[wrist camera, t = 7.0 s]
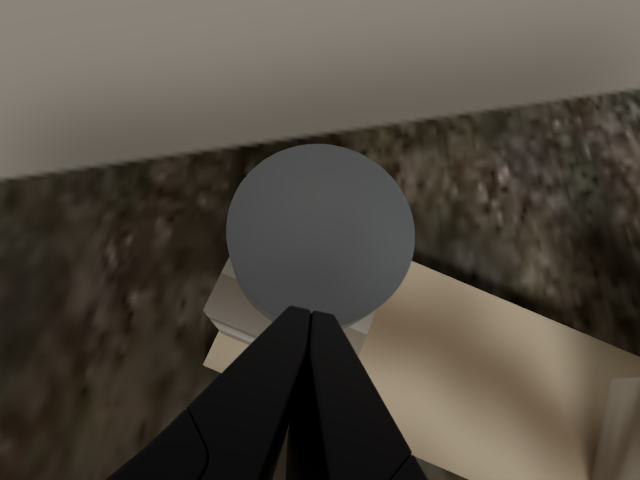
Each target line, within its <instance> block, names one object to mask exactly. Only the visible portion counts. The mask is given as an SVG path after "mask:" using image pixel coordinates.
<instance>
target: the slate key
mask: <svg viewBox="0 0 640 480" xmlns="http://www.w3.org/2000/svg"><path fill="white" fill-rule="evenodd" d="M226 240H227V246H228V252H229V255H230V259H231V262H232V266H233V270H234V273H235V276H236V279H237V282H238V284H239V286H240V288H241V290H242V292H243V293H244V295H245V296H246V298H247V299H248V300H249V302H250V303H251V304H252V305H253V306H254V307H255V308H256V309H257V310H258V311H259V312H260V313H261V314H262V315H264V316H265V317H267V318H268V319H269V320H271V321H274V320H275V319H276V318H277V317H278V316H279V315H280V314H281V313H282V312H283V311H284V310H285V309H286V308H287V307H288V306H297V307H301V308H306V309H309V310H310V311H311V313H312V312H313V311H321V312H325V313H330V314H333V315H334V316H335V317H336V319H337V320H338V322H339V324H340V326H341V327H342V329H344V328H347V327H349V326H351V325H353V324H355V323H357V322H359V321H361V320H362V319H363V318H365V317H366V316H368V315H369V314H370V313H372V312H373V311H374V310H376V309H377V308H378V307H380V306H381V305H382V304H384V303H385V302H386V301H387V300H388V299H389V298H390V297H391V296H392V295H393V294H394V293H395V291H396V290H397V289H398V288H399V286H400V285H401V283H402V281H403V280H404V278H405V276H406V274H407V272H408V270H409V267H410V264H411V261H412V257H413V253H414V246H415V229H414V221H413V217H412V213H411V210H410V207H409V204H408V202H407V200H406V197H405V196H404V194H403V192H402V190H401V189H400V187H399V186H398V185H397V183H396V182H395V180H394V179H393V178H392V177H391V176H390V175H389V174H388V173H387V172H386V171H385V170H384V169H383V168H382V167H381V166H379V165H378V164H377V163H376V162H374V161H372V160H371V159H369V158H368V157H366V156H364V155H362V154H360V153H358V152H356V151H353V150H350V149H347V148H344V147H340V146H335V145H328V144H306V145H299V146H295V147H291V148H287V149H285V150H282V151H280V152H277V153H275V154H273V155H272V156H270V157H268V158H266V159H265V160H263V161H262V162H261V163H259V164H258V165H257V166H256V167H255V168H254V169H252V170H251V171H250V172H249V173H248V175H247V176H246V177H245V178H244V180H243V181H242V182H241V184H240V185H239V187H238V189H237V190H236V192H235V194H234V197H233V199H232V201H231V204H230V208H229V211H228V216H227V224H226Z"/></svg>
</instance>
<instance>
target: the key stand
mask: <svg viewBox="0 0 640 480" xmlns="http://www.w3.org/2000/svg"><path fill="white" fill-rule="evenodd" d="M203 311H204V312H205V313H206V315H207V316H208V317H209V318H210V320H211V321H212V322H213V323H214V325H215V326H216V327H217V329H218V330H219V332H218V334H217V336H216V338H215V340H214V342H213V345H212V347H211V349H210V351H209V353H208V355H207V357H206V359H205V362H204V364H203V365H204V366H206V367H208V368H211V369H213V370H215V371H218V372H220V373H222V372H223V371H224V370H225V369H226V368H227V367H228V366H229V365H230V364H231V363H232V362H233V361H234V360H235V359H236V358H237V357H238V356H239V355H240V354H241V353H242V352H243V351H244V350H245V349H246V348H247V347H248V346H249V345H250V344H251V343H252V342H253V341H254V340H255V339H256V338H257V337H258V336H259V335H260V334H261V333H262V332H263V331H264V330H265V329H266V328H267V327H268V326H269V325H270V324H271V323H272V322H273V321H271V320H269V319H268V318H267V317H265V316H264V315H262V314H261V313H260V312H259V311H258V310H257V309H256V308H255V307H254V306H253V305H252V304H251V303H250V302H249V300H248V299H247V298H246V296H245V295H244V293H243V292H242V290H241V288H240V286H239V284H238V282H237V279H236V276H235V273H234V270H233V266H232V262H231V259H230V256H229V258H228V260H227V262H226V264H225V266H224V268H223V270H222V272H221V274H220V276H219V278H218V280H217V283H216V285H215V287H214V289H213V291H212V293H211V295H210V297H209V299H208V301H207V303H206V305H205V307H204V309H203ZM343 331H344V333H345V334H346V336H347V338H348V340H349V341H350V343H351V345H352V347H353V349H354V350H355V352H356V354H357V356H358V357H359V359H360V361H361V363H362V364H363V366H364V368H365V370H366V371H367V373H368V375H369V377H370V379H371V380H372V382H373V384H374V386H375V387H376V389H377V391H378V393H379V394H380V396H381V398H382V400H383V401H384V403H385V405H386V407H387V409H388V410H389V412H390V414H391V416H392V417H393V419H394V421H395V423H396V424H397V426H398V428H399V430H400V431H401V433H402V435H403V437H404V438H405V440H406V442H407V444H408V446H409V447H410V449H411V451H412V455H414V456H415V457H418V458H420V459H422V460H425V461H427V462H429V463H432V464H434V465H436V466H438V467H441V468H443V469H445V470H448V471H450V472H452V473H455V474H457V475H459V476H462V477H464V478H466V479H469V480H640V357H639V356H636V355H634V354H631V353H629V352H627V351H624V350H622V349H620V348H617V347H615V346H613V345H610V344H608V343H605V342H603V341H601V340H598V339H596V338H594V337H591V336H589V335H586V334H584V333H582V332H579V331H577V330H575V329H572V328H570V327H567V326H565V325H563V324H560V323H558V322H556V321H553V320H551V319H548V318H546V317H544V316H541V315H539V314H537V313H534V312H532V311H530V310H527V309H525V308H522V307H520V306H518V305H515V304H513V303H511V302H508V301H506V300H503V299H501V298H499V297H496V296H494V295H492V294H489V293H487V292H484V291H482V290H480V289H477V288H475V287H473V286H470V285H468V284H465V283H463V282H461V281H458V280H456V279H454V278H451V277H449V276H446V275H444V274H442V273H439V272H437V271H435V270H432V269H430V268H428V267H425V266H423V265H420V264H418V263H416V262H413V261H411V264H410V267H409V270H408V272H407V274H406V276H405V278H404V280H403V281H402V283H401V285H400V286H399V288H398V289H397V290H396V291H395V293H394V294H393V295H392V296H391V297H390V298H389V299H388V300H387V301H386V302H385V303H384V304H382V305H381V306H380V307H378V308H377V309H376V310H374V311H373V312H372V313H370V314H369V315H368V316H366V317H365V318H363V319H362V320H361V321H359V322H357V323H355V324H353V325H351V326H349V327H347V328H344V329H343Z"/></svg>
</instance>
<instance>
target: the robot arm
mask: <svg viewBox="0 0 640 480" xmlns="http://www.w3.org/2000/svg"><path fill="white" fill-rule="evenodd" d="M289 421H290V422H289ZM288 425H289V429H288ZM287 429H288V440H287V460H286V480H428V478H427V477H426V475H425V473H424V472H423V470H422V468H421V466H420V465H419V463H418V461H417V459H416V458H415V456H414V455H412V451H411V449H410V447H409V446H408V444H407V442H406V440H405V438H404V437H403V435H402V433H401V431H400V430H399V428H398V426H397V424H396V423H395V421H394V419H393V417H392V416H391V414H390V412H389V410H388V409H387V407H386V405H385V403H384V401H383V400H382V398H381V396H380V394H379V393H378V391H377V389H376V387H375V386H374V384H373V382H372V380H371V379H370V377H369V375H368V373H367V371H366V370H365V368H364V366H363V364H362V363H361V361H360V359H359V357H358V356H357V354H356V352H355V350H354V349H353V347H352V345H351V343H350V341H349V340H348V338H347V336H346V334H345V333H344V331H343V329H342V327H341V326H340V324H339V322H338V320H337V319H336V317H335V316H334V315H333V314H330V313H325V312H321V311H313V312H312V313H311V311H310V310H309V309H306V308H301V307H297V306H288V307H287V308H286V309H285V310H284V311H283V312H282V313H281V314H280V315H279V316H278V317H277V318H276V319H275V320H274V321H273V322H272V323H271V324H270V325H269V326H268V327H267V328H266V329H265V330H264V331H263V332H262V333H261V334H260V335H259V336H258V337H257V338H256V339H255V340H254V341H253V342H252V343H251V344H250V345H249V346H248V347H247V348H246V349H245V350H244V351H243V352H242V353H241V354H240V355H239V356H238V357H237V358H236V359H235V360H234V361H233V362H232V363H231V364H230V365H229V366H228V367H227V368H226V369H225V370H224V371H223V372H222V373H221V374H220V375H219V376H218V377H217V378H216V379H215V380H214V381H213V382H212V383H211V384H210V385H209V386H208V387H207V388H206V389H205V390H204V391H203V392H202V393H201V394H200V395H199V396H198V397H197V398H196V399H195V400H194V401H193V402H192V403H191V404H190V405H189V406H188V407H187V409H186V410H184V411H183V412H182V413H181V414H180V415H179V416H178V417H177V418H176V419H175V420H174V421H173V422H172V423H171V424H170V425H169V426H167V427H166V428H165V429H164V430H163V431H162V432H161V433H160V434H159V435H158V436H157V437H156V438H155V439H153V440H152V441H151V442H150V443H149V444H148V445H147V446H146V447H145V448H144V449H143V450H141V451H140V452H139V453H138V454H136V455H135V456H134V457H133V458H132V459H130V460H129V461H128V462H127V463H125V464H124V465H123V466H122V467H121V468H119V469H118V470H117V471H116V472H115V473H113V474H112V475H111V476H109V477H108V478H107V479H106V480H272V479H273V476H274V473H275V469H276V466H277V463H278V460H279V457H280V453H281V450H282V447H283V444H284V440H285V436H286V433H287Z"/></svg>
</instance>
